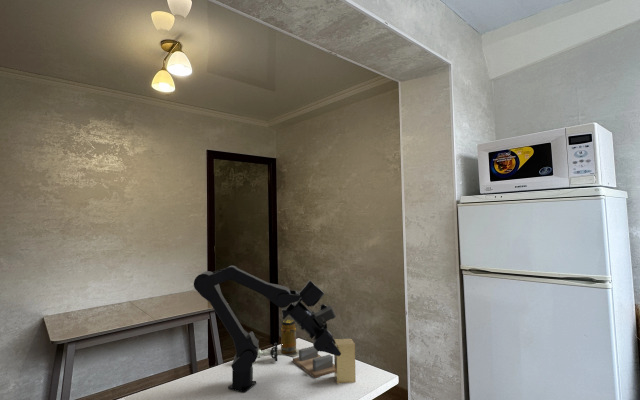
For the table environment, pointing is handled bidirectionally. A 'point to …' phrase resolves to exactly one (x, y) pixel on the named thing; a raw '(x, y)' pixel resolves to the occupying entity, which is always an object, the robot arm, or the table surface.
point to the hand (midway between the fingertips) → (337, 349)
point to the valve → (271, 352)
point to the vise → (314, 362)
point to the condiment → (288, 339)
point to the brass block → (345, 361)
